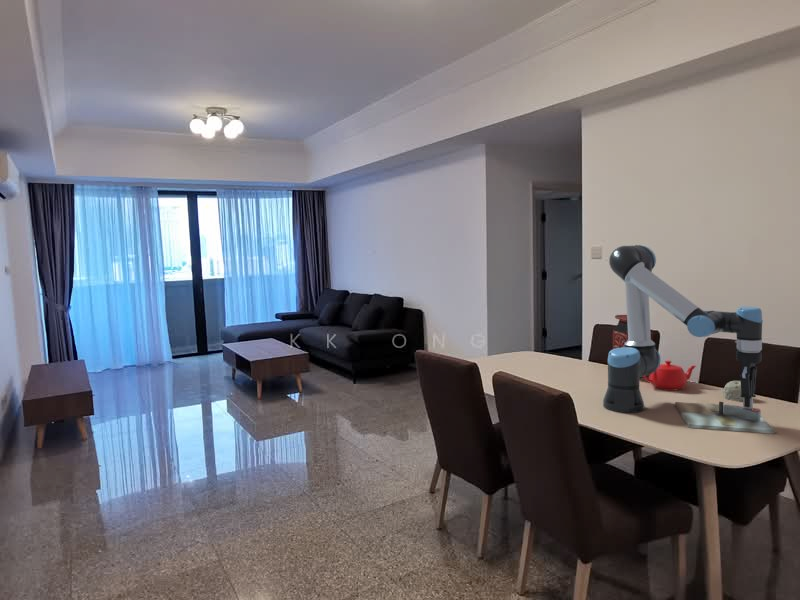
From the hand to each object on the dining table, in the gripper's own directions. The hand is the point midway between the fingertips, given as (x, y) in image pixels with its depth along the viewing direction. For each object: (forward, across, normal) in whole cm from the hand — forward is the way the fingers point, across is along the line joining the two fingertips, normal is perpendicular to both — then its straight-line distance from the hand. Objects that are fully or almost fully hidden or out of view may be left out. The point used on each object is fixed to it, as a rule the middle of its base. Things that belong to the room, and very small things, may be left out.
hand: (747, 414), depth 189 cm
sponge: (+4, -31, -12) cm, 33 cm away
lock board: (+3, +1, -8) cm, 9 cm away
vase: (+3, -42, -60) cm, 74 cm away
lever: (+1, +2, -1) cm, 2 cm away
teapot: (+3, -31, -38) cm, 49 cm away
